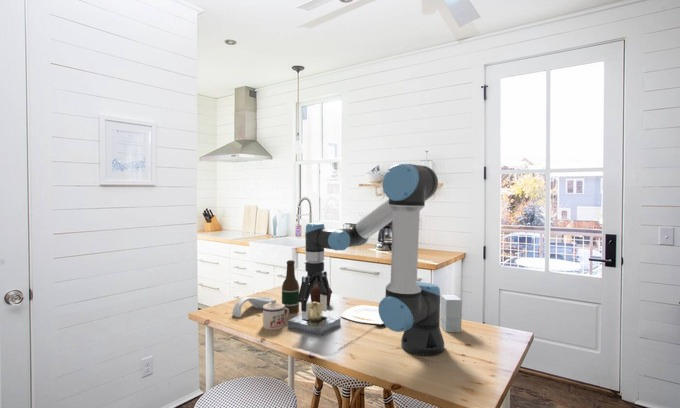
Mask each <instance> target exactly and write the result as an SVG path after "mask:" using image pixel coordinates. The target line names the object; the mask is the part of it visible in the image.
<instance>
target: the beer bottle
mask: <svg viewBox="0 0 680 408" xmlns="http://www.w3.org/2000/svg"><path fill="white" fill-rule="evenodd" d="M295 263H296V262H295V260H289V259H288V260H287V261H286V273H285V275H286V276H285V278H284V281H283V282H282V285H281V303H282V304H284V305H285V307H286V308H288V309H289V314H288V315H290V314H296V313H298V312H299V310H300V302H298V301H297V300H298V296H299V292H300V284H299V282H298V280H297V278H296V275H295V274H296V273H295ZM285 315H286V309H285Z"/></svg>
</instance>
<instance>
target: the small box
mask: <svg viewBox="0 0 680 408" xmlns="http://www.w3.org/2000/svg"><path fill="white" fill-rule="evenodd" d="M440 295H441V297H440V328H442V329H443V330H444V332H445V333H462V315H463V314H462V308H463V307H462V302H463V300H462V299H461V298H460V297H459V296H458V295H456V294H440Z"/></svg>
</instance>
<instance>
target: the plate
mask: <svg viewBox="0 0 680 408" xmlns="http://www.w3.org/2000/svg"><path fill="white" fill-rule="evenodd" d="M378 308H379V306H375V305H374V306H373V305H362V304H361V305H360V304H359V305H357V306H353V307H351V308H348V309H346V310H345V311H343V312H342V314H341V316H340V318H343V319H346V320H348V321H352V322H356V323H359V324H360V323H361V324H368V325H375V326H382V325H385V324H384V322H382V320H381V318H380V316H379V311H378ZM357 317H358V318H357ZM360 318H361V319H360ZM365 319H366V320H365Z"/></svg>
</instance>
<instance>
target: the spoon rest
mask: <svg viewBox="0 0 680 408" xmlns="http://www.w3.org/2000/svg"><path fill="white" fill-rule="evenodd" d="M272 299H275V298H274V297H272V296H271V297H270V296H269V297H268V296H254V297H248V296H244V297H241V298H240V299H239V300H237V302H236V303H235V305H234V306H233V308H232V309H233V310H232V314H231V316H233V317H235V318H242V317H241V316H242V314H241V313H242V307H243V305H244V304H245V303H246V302H249V303H250V304H251V305H252V306H253V307H254V308H256V309H259V310H260V309H262V308H263V306H264V305H265V304H268V303H269V302H271V300H272ZM262 310H263V309H262Z"/></svg>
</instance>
